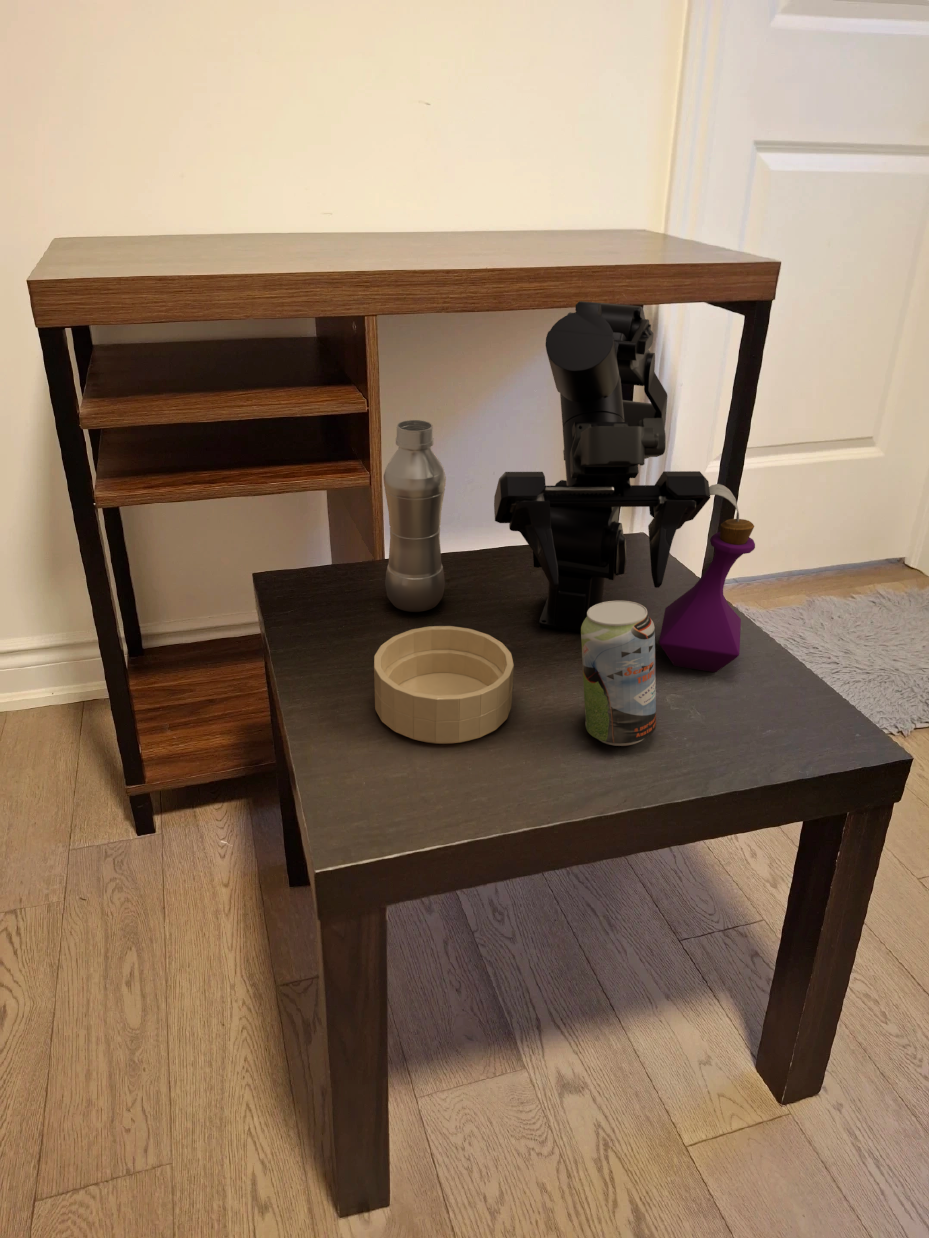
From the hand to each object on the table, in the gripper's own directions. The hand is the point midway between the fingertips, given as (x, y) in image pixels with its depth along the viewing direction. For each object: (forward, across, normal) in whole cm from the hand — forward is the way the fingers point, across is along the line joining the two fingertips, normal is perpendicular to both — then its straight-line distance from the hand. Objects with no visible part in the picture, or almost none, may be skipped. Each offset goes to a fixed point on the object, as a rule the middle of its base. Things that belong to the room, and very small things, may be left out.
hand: (607, 587), depth 83 cm
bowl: (+9, -14, +6) cm, 18 cm away
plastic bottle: (-5, -16, +20) cm, 26 cm away
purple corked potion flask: (+4, +11, +12) cm, 17 cm away
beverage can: (+12, 0, +3) cm, 13 cm away
